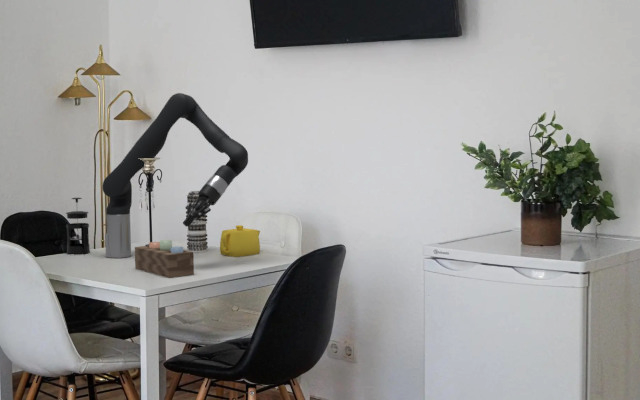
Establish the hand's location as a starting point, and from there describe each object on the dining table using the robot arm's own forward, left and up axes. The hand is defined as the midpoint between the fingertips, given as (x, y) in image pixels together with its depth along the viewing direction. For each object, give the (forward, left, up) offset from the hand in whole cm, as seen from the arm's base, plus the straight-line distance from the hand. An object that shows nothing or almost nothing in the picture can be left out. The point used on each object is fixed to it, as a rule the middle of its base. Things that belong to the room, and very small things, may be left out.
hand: (185, 225), depth 312 cm
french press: (-55, +34, -16) cm, 66 cm away
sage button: (-6, -6, -11) cm, 14 cm away
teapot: (+13, +36, -16) cm, 42 cm away
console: (-7, -7, -16) cm, 19 cm away
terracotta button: (-11, 0, -12) cm, 17 cm away
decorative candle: (-7, +42, -16) cm, 46 cm away
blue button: (0, -11, -12) cm, 17 cm away
